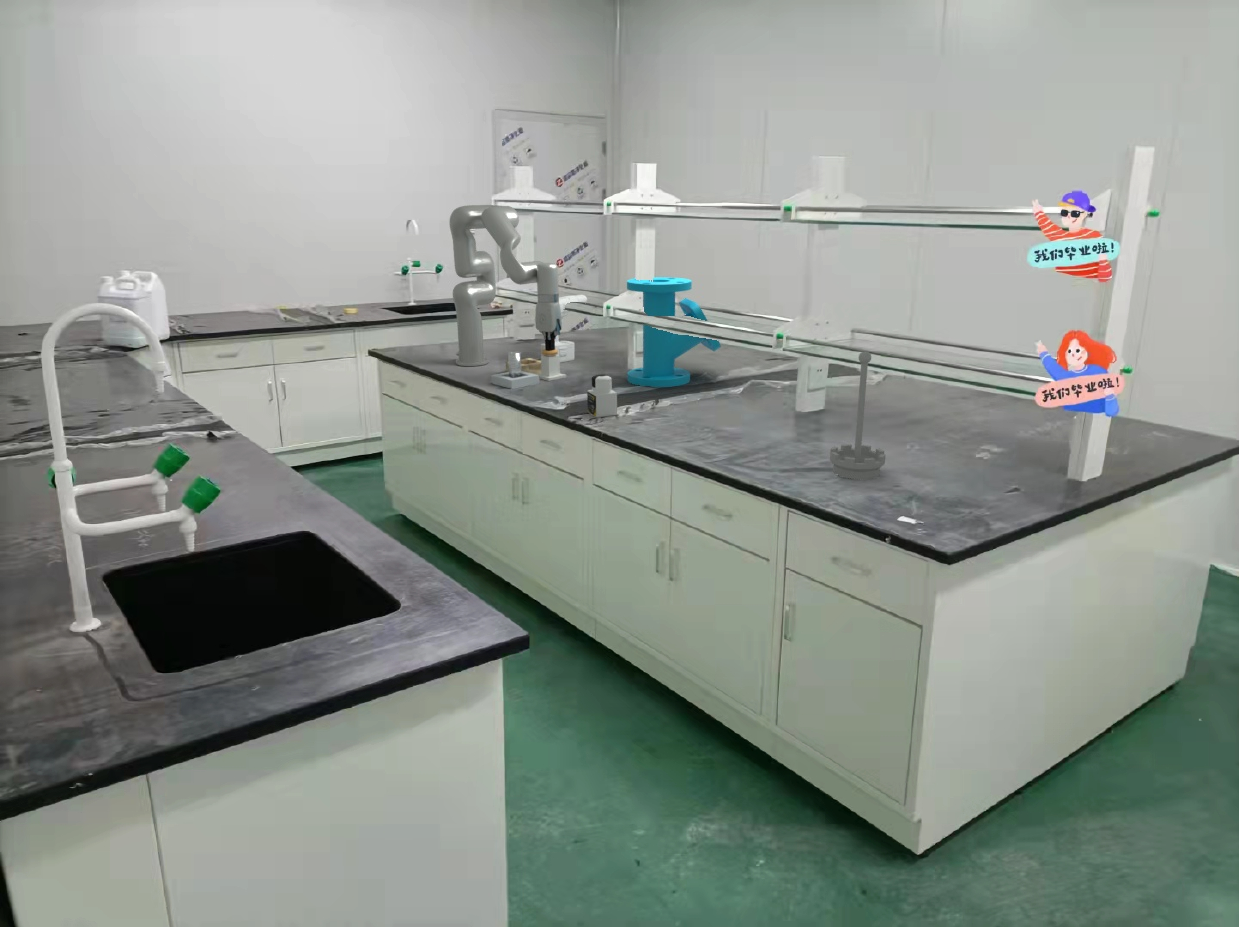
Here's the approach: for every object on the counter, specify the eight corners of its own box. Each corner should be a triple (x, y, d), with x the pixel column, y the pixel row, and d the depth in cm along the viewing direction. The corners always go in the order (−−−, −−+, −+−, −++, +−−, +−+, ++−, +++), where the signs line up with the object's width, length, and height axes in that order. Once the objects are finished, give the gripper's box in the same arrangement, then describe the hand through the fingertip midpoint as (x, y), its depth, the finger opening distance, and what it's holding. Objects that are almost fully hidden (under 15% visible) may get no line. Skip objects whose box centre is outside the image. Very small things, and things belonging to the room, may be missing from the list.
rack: (506, 372, 334) (505, 362, 332) (529, 368, 341) (529, 358, 340) (523, 377, 326) (523, 366, 325) (547, 372, 333) (547, 362, 332)
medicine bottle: (587, 412, 277) (586, 374, 273) (608, 410, 279) (608, 372, 276) (595, 417, 270) (595, 379, 267) (617, 415, 273) (617, 376, 269)
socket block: (491, 383, 316) (491, 375, 315) (519, 378, 324) (518, 370, 323) (511, 388, 308) (511, 380, 307) (539, 383, 316) (539, 375, 315)
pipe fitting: (621, 375, 328) (620, 278, 317) (704, 370, 334) (706, 275, 323) (635, 388, 307) (635, 285, 296) (723, 383, 313) (726, 282, 302)
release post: (535, 377, 325) (534, 355, 323) (552, 374, 330) (551, 352, 328) (548, 380, 319) (548, 358, 317) (566, 377, 325) (565, 355, 322)
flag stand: (886, 482, 212) (897, 357, 203) (830, 479, 214) (838, 356, 205) (880, 465, 224) (891, 347, 215) (827, 463, 226) (835, 345, 217)
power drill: (593, 357, 360) (592, 294, 353) (545, 365, 345) (543, 300, 337) (580, 354, 366) (579, 292, 359) (532, 362, 351) (530, 298, 343)
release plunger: (539, 372, 324) (538, 350, 322) (551, 370, 328) (551, 348, 326) (549, 374, 321) (548, 352, 318) (561, 372, 324) (560, 350, 322)
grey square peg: (506, 383, 316) (505, 352, 313) (516, 381, 319) (515, 351, 316) (514, 385, 313) (512, 354, 310) (524, 383, 316) (523, 352, 312)
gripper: (527, 298, 319) (529, 349, 325) (553, 301, 308) (555, 354, 314) (543, 296, 324) (545, 346, 329) (569, 299, 313) (571, 351, 319)
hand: (550, 350), depth 322 cm, fingers closed
